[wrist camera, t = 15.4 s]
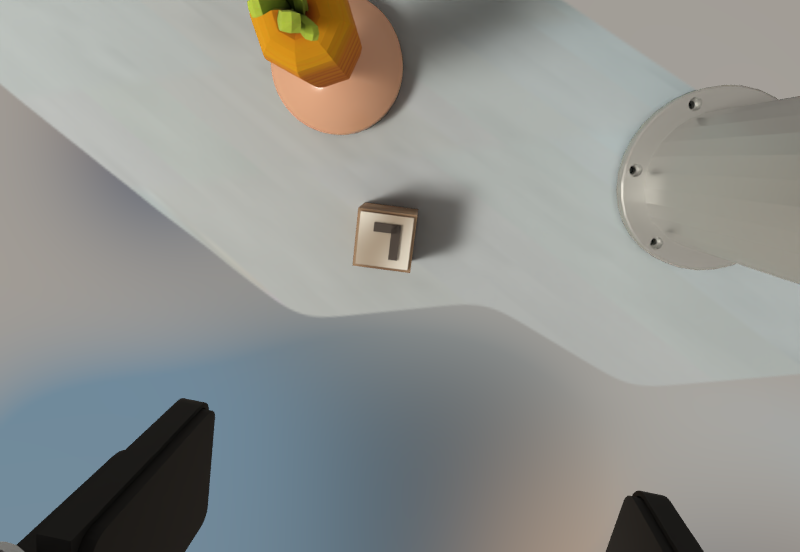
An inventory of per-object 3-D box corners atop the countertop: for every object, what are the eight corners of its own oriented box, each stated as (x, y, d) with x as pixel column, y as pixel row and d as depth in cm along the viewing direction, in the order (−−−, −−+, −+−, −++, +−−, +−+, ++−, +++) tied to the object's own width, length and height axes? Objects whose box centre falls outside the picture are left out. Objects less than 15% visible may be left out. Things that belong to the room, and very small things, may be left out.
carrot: (304, 22, 32) (204, -100, 17) (378, 29, 31) (341, -88, 17) (301, 101, 33) (204, 48, 18) (372, 107, 33) (332, 61, 18)
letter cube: (418, 209, 35) (417, 216, 31) (411, 260, 36) (409, 274, 32) (365, 202, 36) (357, 208, 31) (360, 254, 36) (351, 266, 32)
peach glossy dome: (411, 7, 32) (411, 1, 31) (393, 143, 34) (392, 142, 33) (281, -12, 32) (276, -18, 31) (271, 125, 34) (266, 124, 33)
